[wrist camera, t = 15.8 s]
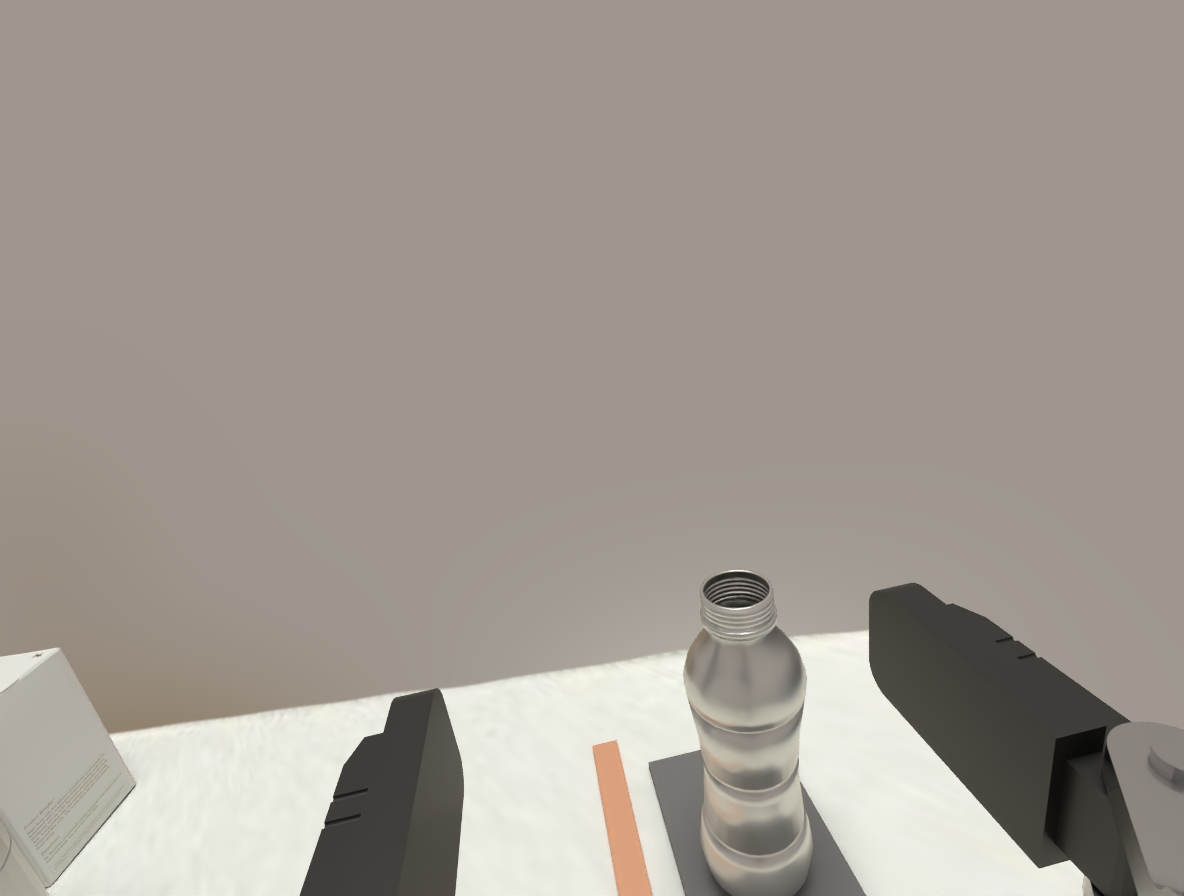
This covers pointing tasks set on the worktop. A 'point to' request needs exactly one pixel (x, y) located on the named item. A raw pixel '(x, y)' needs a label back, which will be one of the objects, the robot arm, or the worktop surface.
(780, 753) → the plastic bottle
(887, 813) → the worktop surface
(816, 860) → the mat
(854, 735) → the worktop surface
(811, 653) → the worktop surface
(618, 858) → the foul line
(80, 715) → the supplement box
